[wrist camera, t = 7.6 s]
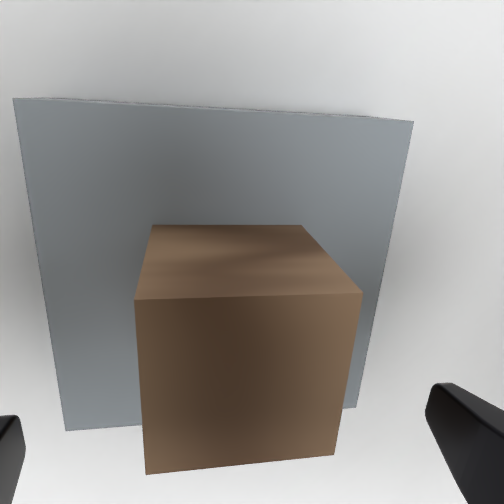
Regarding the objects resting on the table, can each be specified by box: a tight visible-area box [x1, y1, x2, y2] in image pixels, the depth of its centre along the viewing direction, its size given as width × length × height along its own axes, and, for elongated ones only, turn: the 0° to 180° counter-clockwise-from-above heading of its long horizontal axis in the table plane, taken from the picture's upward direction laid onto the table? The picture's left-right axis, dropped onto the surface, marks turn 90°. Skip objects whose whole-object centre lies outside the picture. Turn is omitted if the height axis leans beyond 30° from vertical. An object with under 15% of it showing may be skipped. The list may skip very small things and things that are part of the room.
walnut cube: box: [134, 225, 363, 475], centre depth 11 cm, size 5×5×5 cm
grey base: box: [13, 98, 414, 431], centre depth 15 cm, size 12×12×3 cm
